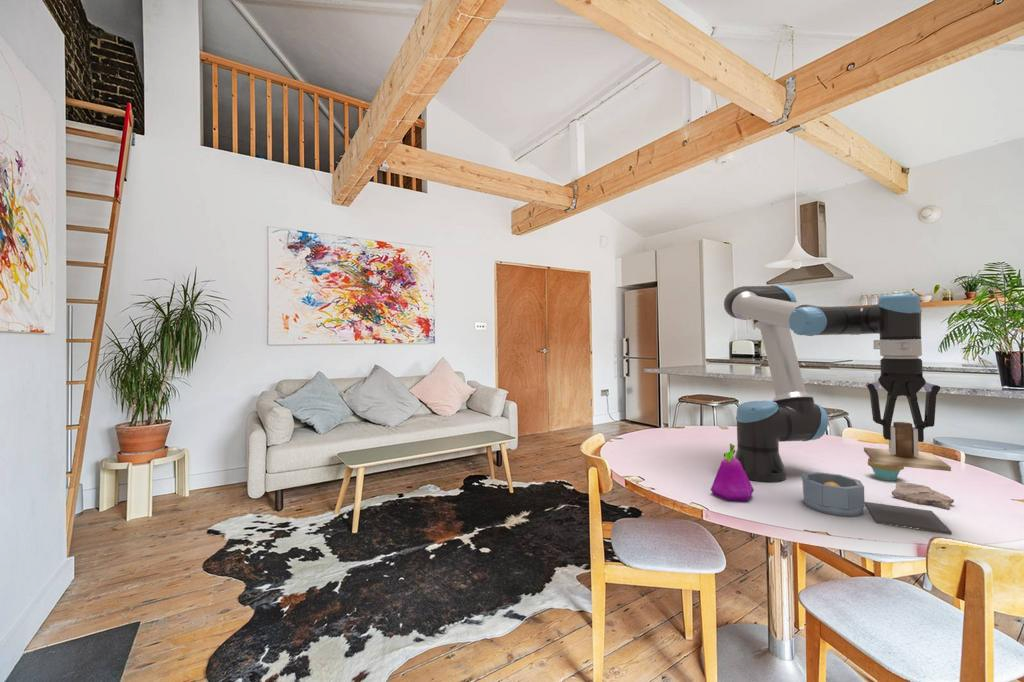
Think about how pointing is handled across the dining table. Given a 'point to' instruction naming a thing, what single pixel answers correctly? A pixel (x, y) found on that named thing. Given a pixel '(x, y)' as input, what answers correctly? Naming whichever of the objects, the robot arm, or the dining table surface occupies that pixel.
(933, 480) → the dining table surface
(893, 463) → the board
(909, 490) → the stone
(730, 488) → the purple eggplant
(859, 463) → the dining table surface
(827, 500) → the bowl
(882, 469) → the cupcake
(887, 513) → the mat
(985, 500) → the dining table surface
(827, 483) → the clementine
